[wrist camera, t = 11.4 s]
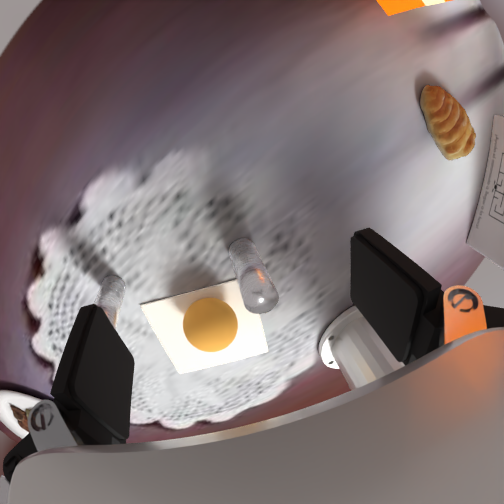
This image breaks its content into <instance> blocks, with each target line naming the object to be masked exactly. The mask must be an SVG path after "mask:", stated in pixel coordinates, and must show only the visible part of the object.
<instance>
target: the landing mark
mask: <svg viewBox="0 0 504 504" xmlns="http://www.w3.org/2000/svg"><path fill="white" fill-rule="evenodd" d="M203 298H217V299H220V300H222V301H224V302H226V303H227V304H228V305H229V306H230V307H231V308H232V309H233V311H234V312H235V314H236V317H237V320H238V330H237V334H236V337H235V339H234V340H233V342H232V343H231V344H230V345H229V346H228V347H226V348H225V349H223V350H220V351H217V352H205V351H201V350H199V349H197V348H195V347H194V346H193V345H192V344H191V343H190V342H189V341H188V340H187V338H186V336H185V334H184V331H183V318H184V315H185V313H186V311H187V309H188V308H189V307H190V305H192V304H193V303H194V302H196V301H197V300H200V299H203ZM140 306H141V308H142V310H143V312H144V314H145V316H146V318H147V320H148V321H149V323H150V325H151V327H152V329H153V331H154V332H155V334H156V336H157V338H158V339H159V341H160V343H161V344H162V346H163V348H164V350H165V351H166V353H167V355H168V356H169V358H170V360H171V361H172V363H173V364H174V366H175V368H176V369H177V371H178V372H179V374H183V373H187V372H192V371H196V370H201V369H205V368H209V367H213V366H218V365H222V364H226V363H229V362H233V361H237V360H241V359H244V358H248V357H252V356H255V355H259V354H262V353H266V352H269V351H268V347H267V343H266V339H265V335H264V330H263V326H262V322H261V318H260V314H254V313H251V312H249V311H248V310H247V309H246V308H245V306H244V302H243V299H242V296H241V293H240V289H239V286H238V283H237V279H235V280H232V281H228V282H224V283H221V284H217V285H213V286H210V287H206V288H202V289H199V290H195V291H191V292H188V293H184V294H180V295H176V296H173V297H169V298H165V299H161V300H157V301H153V302H150V303H146V304H142V305H140Z"/></svg>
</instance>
